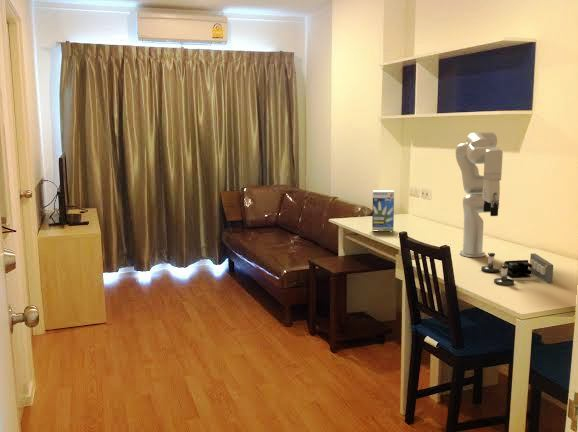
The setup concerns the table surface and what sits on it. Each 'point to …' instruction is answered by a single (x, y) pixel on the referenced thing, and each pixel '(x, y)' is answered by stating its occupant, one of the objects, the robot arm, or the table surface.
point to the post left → (490, 264)
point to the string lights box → (383, 210)
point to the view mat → (522, 278)
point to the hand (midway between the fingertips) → (490, 213)
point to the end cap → (518, 269)
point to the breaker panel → (541, 268)
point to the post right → (504, 277)
